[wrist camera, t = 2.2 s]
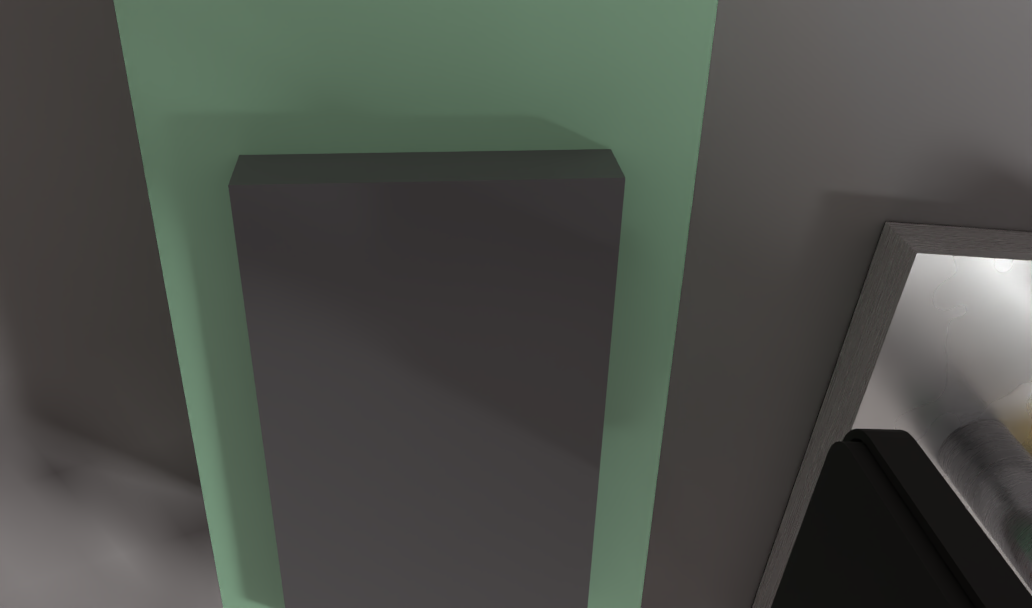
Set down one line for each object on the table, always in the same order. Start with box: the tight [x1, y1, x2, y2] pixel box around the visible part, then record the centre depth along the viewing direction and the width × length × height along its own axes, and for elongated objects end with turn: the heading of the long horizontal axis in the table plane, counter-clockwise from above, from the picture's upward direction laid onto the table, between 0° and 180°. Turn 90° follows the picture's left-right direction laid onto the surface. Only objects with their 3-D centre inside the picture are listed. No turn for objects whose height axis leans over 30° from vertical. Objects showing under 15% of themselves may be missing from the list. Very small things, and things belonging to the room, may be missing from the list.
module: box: [113, 0, 718, 608], centre depth 14 cm, size 12×6×6 cm, turn 178°
